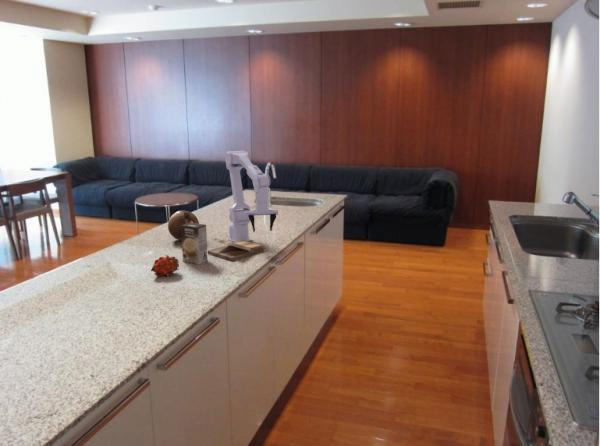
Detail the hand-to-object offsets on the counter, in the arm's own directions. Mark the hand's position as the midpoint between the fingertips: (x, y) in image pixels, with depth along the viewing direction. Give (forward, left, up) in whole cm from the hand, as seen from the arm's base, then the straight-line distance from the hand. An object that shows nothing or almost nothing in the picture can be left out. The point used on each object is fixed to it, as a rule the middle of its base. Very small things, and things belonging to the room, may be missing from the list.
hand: (262, 230), depth 224 cm
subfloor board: (-8, -9, -10) cm, 16 cm away
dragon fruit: (-6, -48, -10) cm, 50 cm away
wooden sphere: (-43, -12, -10) cm, 46 cm away
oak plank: (-8, -12, -6) cm, 15 cm away
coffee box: (-12, -29, -10) cm, 33 cm away
